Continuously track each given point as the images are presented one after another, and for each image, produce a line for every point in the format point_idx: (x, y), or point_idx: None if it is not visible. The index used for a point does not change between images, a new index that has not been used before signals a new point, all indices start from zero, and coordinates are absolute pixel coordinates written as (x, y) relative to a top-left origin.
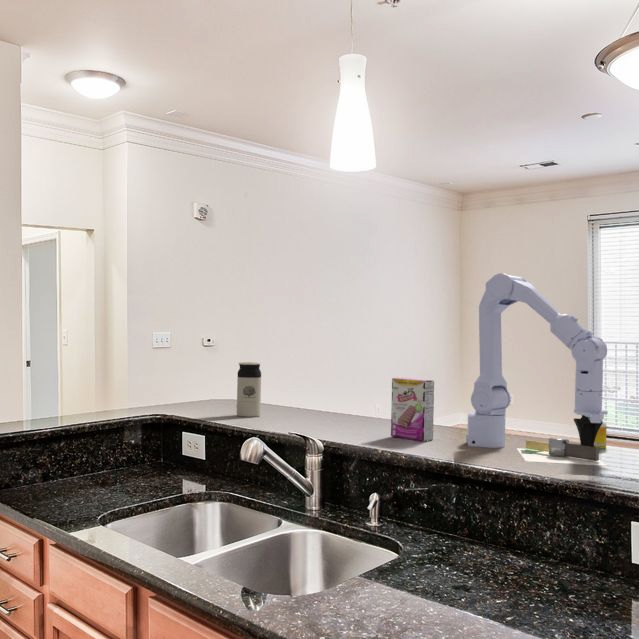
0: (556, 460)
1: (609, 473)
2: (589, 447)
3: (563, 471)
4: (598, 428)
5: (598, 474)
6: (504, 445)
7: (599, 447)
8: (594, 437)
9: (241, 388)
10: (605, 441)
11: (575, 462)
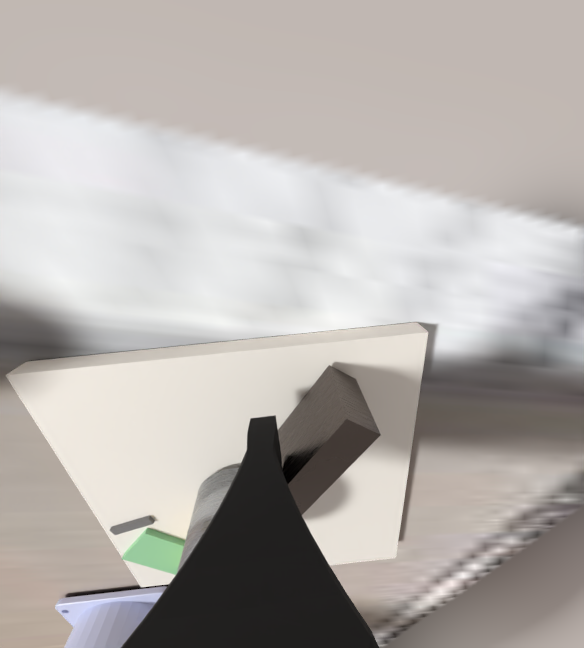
0: (353, 496)
1: (485, 323)
2: (352, 457)
3: (461, 463)
4: (335, 581)
5: (509, 367)
6: (126, 614)
7: None
8: (290, 491)
9: None
10: None
11: (378, 446)
